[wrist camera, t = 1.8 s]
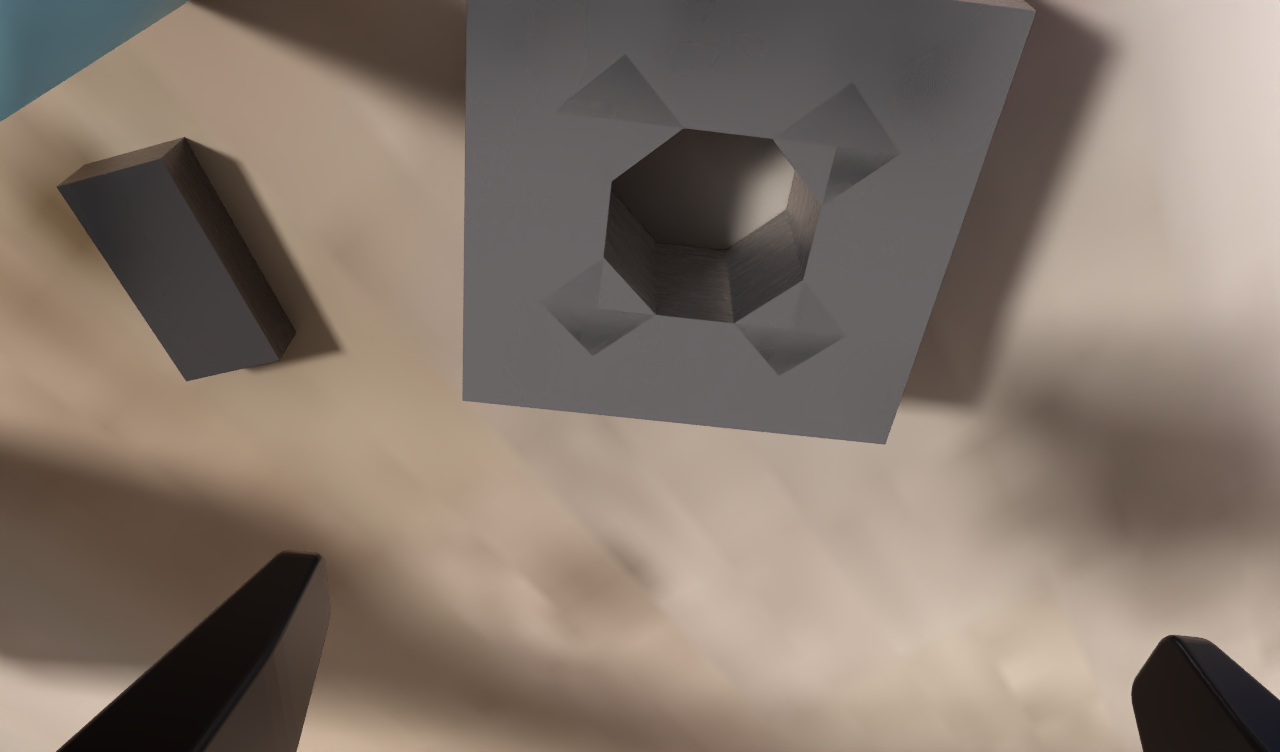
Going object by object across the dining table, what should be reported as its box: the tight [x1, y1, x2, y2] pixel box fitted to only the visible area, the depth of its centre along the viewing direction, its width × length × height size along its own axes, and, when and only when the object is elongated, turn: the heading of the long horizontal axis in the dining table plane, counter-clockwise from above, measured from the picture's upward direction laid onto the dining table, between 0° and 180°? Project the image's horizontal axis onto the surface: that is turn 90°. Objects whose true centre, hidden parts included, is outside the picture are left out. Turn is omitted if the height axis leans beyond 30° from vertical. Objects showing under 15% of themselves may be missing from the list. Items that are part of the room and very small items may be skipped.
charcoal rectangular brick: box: [57, 137, 296, 381], centre depth 21 cm, size 5×2×2 cm, turn 15°
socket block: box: [463, 0, 1036, 444], centre depth 19 cm, size 9×9×3 cm
